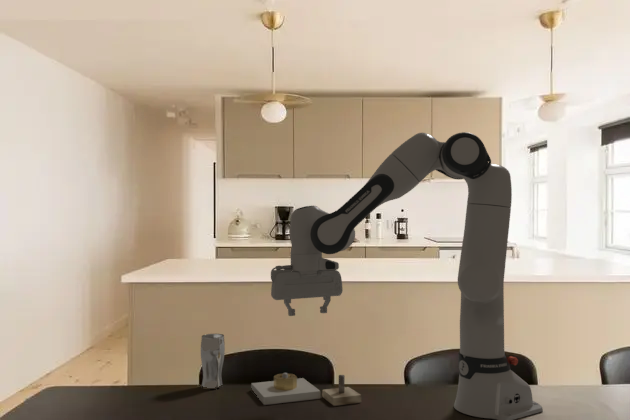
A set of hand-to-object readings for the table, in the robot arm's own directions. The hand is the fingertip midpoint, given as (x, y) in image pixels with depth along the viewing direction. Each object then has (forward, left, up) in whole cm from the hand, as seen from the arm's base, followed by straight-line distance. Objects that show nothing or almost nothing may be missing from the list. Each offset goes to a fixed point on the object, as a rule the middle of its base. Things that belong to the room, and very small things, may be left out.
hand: (307, 314), depth 144 cm
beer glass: (+23, -20, -23) cm, 38 cm away
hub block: (+5, -6, -23) cm, 24 cm away
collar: (+5, -6, -21) cm, 22 cm away
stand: (-8, +4, -23) cm, 25 cm away
